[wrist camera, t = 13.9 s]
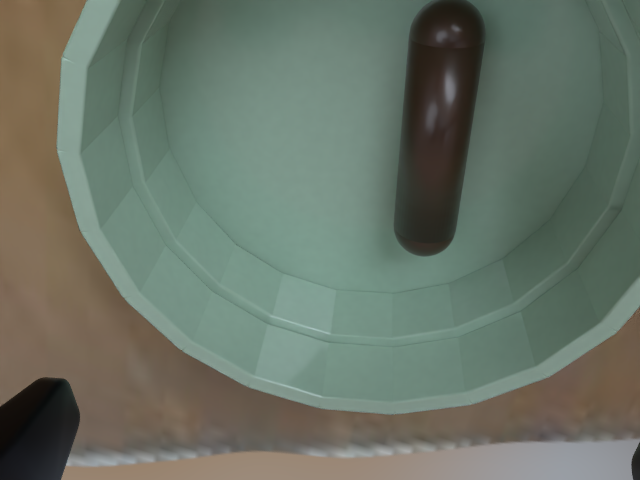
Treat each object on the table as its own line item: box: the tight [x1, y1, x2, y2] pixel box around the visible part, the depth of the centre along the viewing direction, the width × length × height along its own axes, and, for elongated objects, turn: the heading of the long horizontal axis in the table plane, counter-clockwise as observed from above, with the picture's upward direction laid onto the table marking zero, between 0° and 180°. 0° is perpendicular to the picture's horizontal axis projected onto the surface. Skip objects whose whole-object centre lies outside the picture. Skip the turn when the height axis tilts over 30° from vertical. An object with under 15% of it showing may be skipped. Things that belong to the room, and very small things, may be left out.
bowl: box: [56, 0, 640, 415], centre depth 16 cm, size 15×15×6 cm
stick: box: [394, 0, 486, 257], centre depth 17 cm, size 2×8×2 cm
